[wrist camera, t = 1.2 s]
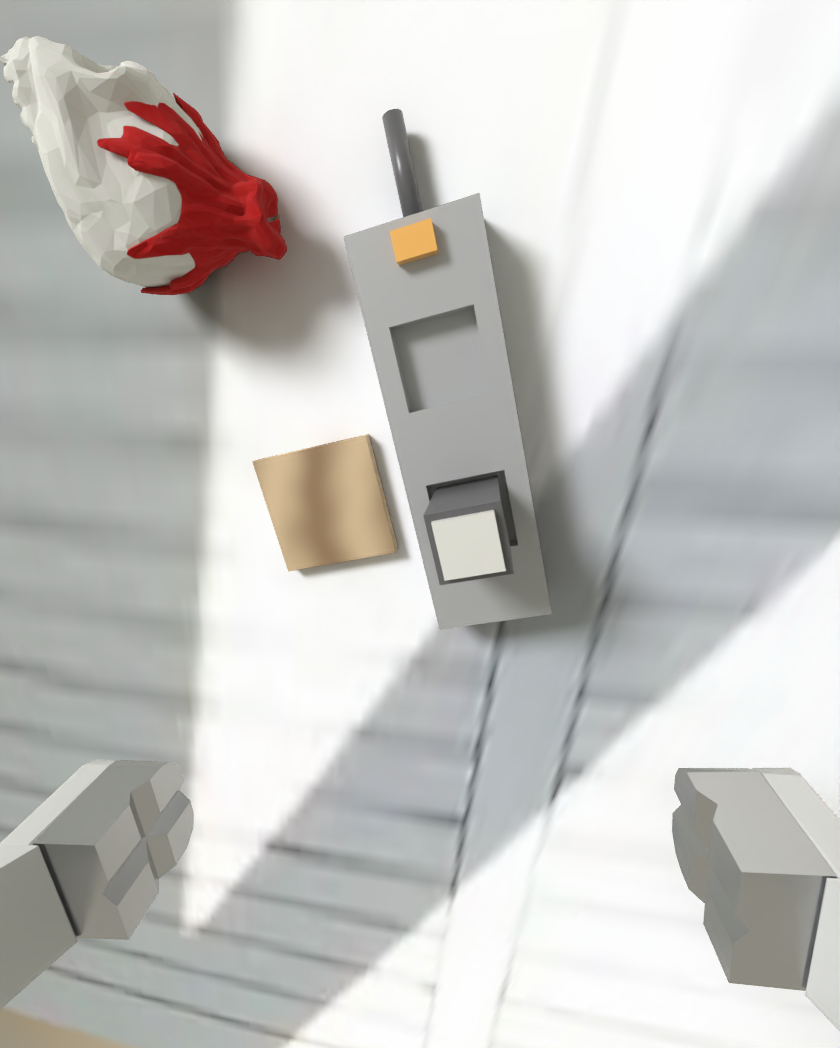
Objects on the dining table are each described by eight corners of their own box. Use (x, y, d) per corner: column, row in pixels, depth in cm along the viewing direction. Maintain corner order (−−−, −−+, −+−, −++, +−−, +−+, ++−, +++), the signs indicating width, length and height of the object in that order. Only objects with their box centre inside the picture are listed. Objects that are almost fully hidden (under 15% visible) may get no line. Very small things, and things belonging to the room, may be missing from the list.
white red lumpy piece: (83, 92, 30) (316, 142, 30) (89, 285, 33) (299, 326, 34) (-57, -22, 21) (273, 51, 22) (-29, 254, 24) (255, 310, 25)
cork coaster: (368, 434, 34) (365, 435, 33) (398, 547, 36) (395, 552, 35) (258, 459, 36) (252, 461, 35) (293, 566, 38) (288, 571, 37)
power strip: (460, 102, 27) (455, 52, 23) (545, 591, 36) (553, 619, 31) (335, 148, 29) (308, 108, 25) (444, 606, 37) (438, 635, 33)
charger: (497, 475, 31) (500, 502, 24) (508, 533, 32) (514, 576, 25) (436, 487, 32) (422, 517, 25) (449, 544, 33) (439, 588, 26)
